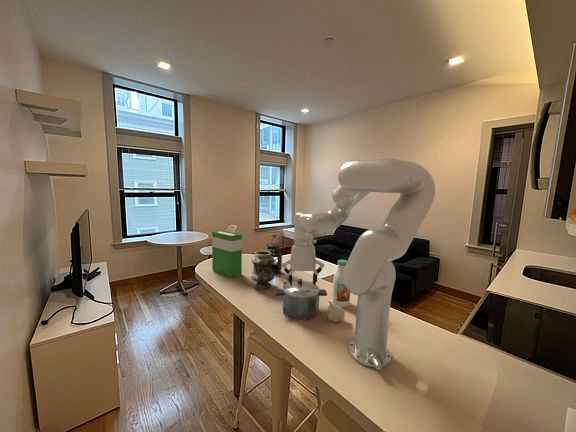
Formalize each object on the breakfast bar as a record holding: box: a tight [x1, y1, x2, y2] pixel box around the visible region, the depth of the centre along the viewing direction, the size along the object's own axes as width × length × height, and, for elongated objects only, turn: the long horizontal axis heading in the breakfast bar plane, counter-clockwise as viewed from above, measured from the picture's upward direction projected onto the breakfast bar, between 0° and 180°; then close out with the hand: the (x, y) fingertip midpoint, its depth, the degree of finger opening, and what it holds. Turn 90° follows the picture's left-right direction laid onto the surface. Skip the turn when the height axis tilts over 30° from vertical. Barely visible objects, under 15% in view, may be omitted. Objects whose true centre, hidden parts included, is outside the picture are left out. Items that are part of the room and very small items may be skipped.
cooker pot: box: [275, 281, 328, 321], centre depth 102 cm, size 16×21×9 cm
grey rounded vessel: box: [250, 250, 275, 291], centre depth 125 cm, size 12×12×18 cm
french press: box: [266, 234, 283, 276], centre depth 146 cm, size 12×9×23 cm
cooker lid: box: [282, 278, 320, 299], centre depth 101 cm, size 16×15×3 cm
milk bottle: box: [331, 259, 351, 308], centre depth 108 cm, size 8×8×20 cm
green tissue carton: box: [211, 229, 243, 278], centre depth 143 cm, size 18×7×24 cm, turn 53°
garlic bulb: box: [326, 301, 346, 323], centre depth 95 cm, size 7×6×8 cm
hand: (302, 283), depth 99 cm, fingers open, 9 cm apart
